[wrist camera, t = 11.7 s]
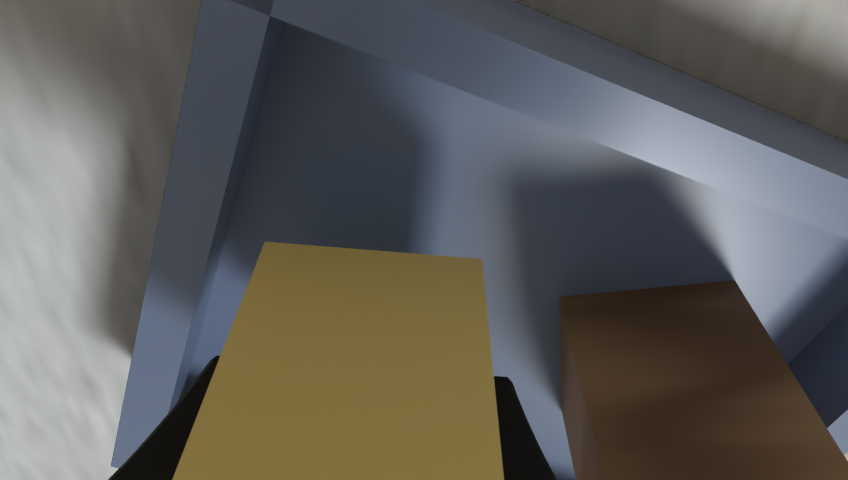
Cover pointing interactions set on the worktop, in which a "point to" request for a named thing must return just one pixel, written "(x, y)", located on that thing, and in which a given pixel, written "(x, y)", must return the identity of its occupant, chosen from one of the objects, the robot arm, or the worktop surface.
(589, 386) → the walnut block
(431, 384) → the mustard block
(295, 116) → the slate blue tray
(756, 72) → the worktop surface
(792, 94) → the worktop surface
